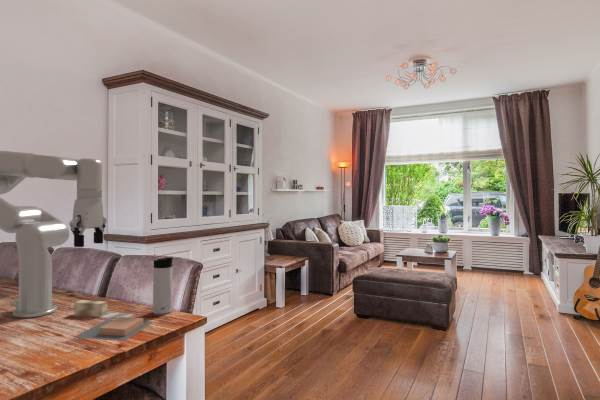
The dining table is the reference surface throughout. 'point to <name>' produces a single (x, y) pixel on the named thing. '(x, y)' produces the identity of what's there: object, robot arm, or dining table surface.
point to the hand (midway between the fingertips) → (89, 245)
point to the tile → (121, 326)
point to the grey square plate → (95, 334)
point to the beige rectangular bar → (95, 309)
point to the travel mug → (162, 286)
